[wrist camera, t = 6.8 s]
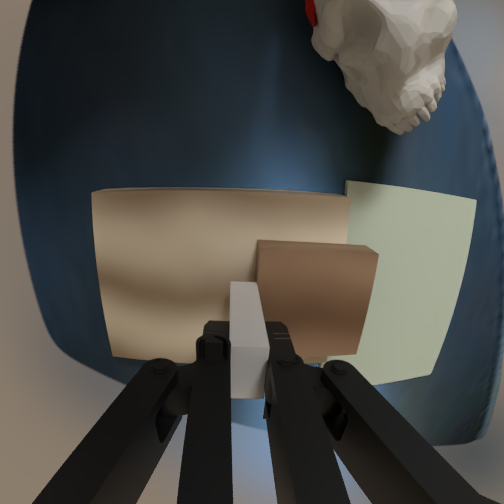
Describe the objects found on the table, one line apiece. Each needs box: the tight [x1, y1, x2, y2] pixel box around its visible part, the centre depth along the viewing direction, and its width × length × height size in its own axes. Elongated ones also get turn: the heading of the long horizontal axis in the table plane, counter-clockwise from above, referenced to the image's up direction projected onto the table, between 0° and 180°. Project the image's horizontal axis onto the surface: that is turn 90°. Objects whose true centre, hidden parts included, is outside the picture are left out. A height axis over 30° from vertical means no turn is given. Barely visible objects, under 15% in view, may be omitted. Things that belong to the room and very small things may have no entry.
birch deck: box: [91, 187, 351, 364], centre depth 20 cm, size 12×16×2 cm
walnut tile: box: [254, 239, 379, 357], centre depth 18 cm, size 7×7×2 cm
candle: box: [305, 0, 458, 135], centre depth 12 cm, size 9×11×15 cm
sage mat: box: [319, 180, 477, 385], centre depth 22 cm, size 18×13×1 cm
